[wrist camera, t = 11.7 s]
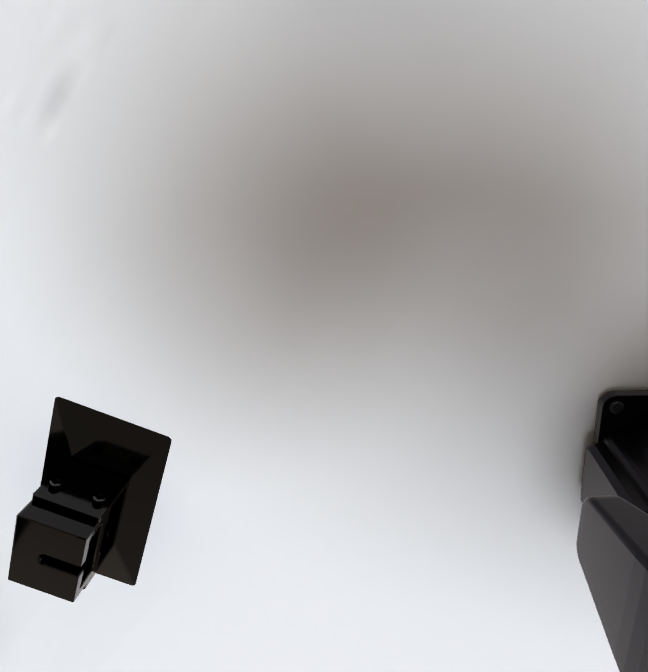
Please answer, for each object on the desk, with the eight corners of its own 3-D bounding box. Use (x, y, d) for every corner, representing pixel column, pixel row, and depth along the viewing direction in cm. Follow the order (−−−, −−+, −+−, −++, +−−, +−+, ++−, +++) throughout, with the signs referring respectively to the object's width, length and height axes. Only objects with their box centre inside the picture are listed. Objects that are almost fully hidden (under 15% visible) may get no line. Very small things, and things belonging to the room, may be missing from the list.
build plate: (147, 601, 27) (103, 686, 23) (16, 554, 27) (-52, 631, 23) (202, 408, 23) (159, 470, 19) (45, 352, 23) (-34, 401, 18)
